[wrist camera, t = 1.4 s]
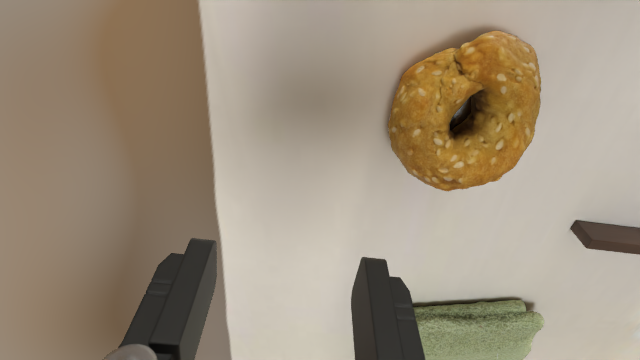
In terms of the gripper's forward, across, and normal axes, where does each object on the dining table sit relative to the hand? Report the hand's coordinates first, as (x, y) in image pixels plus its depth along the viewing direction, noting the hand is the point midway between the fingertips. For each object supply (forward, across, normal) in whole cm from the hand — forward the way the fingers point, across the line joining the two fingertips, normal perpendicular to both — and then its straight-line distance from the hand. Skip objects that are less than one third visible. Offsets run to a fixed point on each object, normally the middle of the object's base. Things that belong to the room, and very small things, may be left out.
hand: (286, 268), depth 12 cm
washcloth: (+18, -19, +27) cm, 37 cm away
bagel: (+18, -11, 0) cm, 21 cm away
